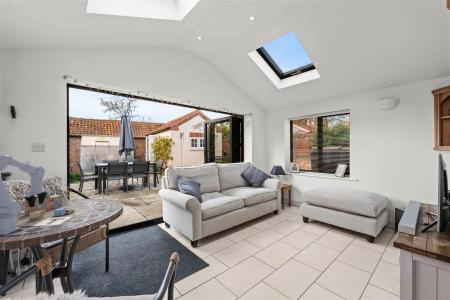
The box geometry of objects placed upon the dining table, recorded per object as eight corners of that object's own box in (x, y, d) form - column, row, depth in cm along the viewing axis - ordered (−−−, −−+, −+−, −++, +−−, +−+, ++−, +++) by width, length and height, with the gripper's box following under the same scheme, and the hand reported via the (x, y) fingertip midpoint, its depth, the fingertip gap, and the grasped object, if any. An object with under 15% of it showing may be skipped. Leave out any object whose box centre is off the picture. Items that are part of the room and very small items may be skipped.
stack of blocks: (55, 205, 156) (55, 190, 156) (62, 206, 155) (62, 191, 155) (24, 214, 135) (24, 197, 135) (32, 215, 134) (32, 197, 134)
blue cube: (61, 216, 131) (61, 210, 131) (54, 216, 131) (54, 210, 131) (65, 214, 136) (65, 208, 136) (58, 214, 135) (58, 208, 135)
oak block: (38, 220, 123) (38, 213, 123) (29, 221, 122) (29, 213, 122) (44, 218, 128) (44, 210, 128) (35, 218, 127) (35, 211, 127)
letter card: (58, 225, 116) (58, 224, 116) (31, 227, 113) (31, 226, 113) (72, 217, 129) (72, 216, 129) (48, 218, 127) (48, 217, 127)
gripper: (35, 186, 119) (35, 208, 119) (51, 182, 133) (51, 201, 133) (21, 187, 118) (21, 208, 118) (39, 182, 132) (39, 202, 132)
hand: (36, 205), depth 125 cm, fingers open, 7 cm apart
